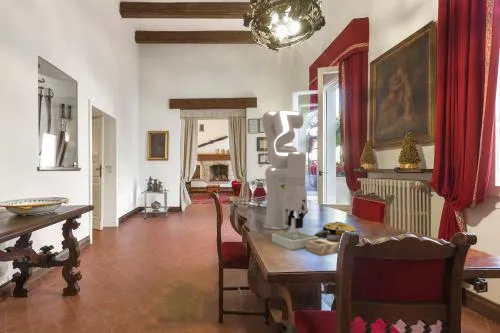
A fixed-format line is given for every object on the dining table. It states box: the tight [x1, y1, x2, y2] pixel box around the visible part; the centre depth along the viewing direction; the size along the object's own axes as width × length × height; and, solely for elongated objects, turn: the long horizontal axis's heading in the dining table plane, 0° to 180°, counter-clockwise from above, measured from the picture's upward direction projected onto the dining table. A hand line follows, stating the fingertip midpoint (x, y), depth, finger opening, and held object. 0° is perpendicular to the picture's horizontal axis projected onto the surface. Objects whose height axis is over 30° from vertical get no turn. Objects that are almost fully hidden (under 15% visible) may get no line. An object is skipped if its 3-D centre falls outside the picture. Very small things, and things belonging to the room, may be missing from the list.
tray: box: [271, 231, 320, 251], centre depth 129 cm, size 14×14×4 cm
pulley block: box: [313, 221, 361, 239], centre depth 144 cm, size 14×6×30 cm
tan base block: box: [305, 235, 342, 256], centre depth 120 cm, size 14×8×5 cm, turn 120°
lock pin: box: [290, 217, 300, 241], centre depth 129 cm, size 3×3×10 cm
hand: (295, 226), depth 129 cm, fingers open, 4 cm apart
